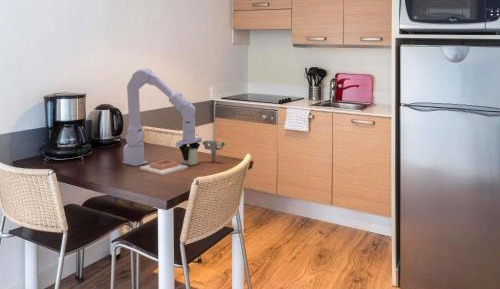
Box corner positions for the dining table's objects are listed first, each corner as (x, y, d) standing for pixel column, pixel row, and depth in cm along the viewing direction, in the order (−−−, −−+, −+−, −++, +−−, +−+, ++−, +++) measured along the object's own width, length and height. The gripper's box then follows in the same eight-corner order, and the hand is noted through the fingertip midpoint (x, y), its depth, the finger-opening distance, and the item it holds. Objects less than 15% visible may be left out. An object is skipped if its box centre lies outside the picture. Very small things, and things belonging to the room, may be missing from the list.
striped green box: (182, 163, 211) (181, 148, 209) (188, 161, 214) (187, 146, 213) (191, 165, 207) (190, 150, 206) (197, 163, 210) (197, 148, 209)
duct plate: (139, 169, 201) (139, 163, 201) (165, 162, 213) (165, 156, 212) (162, 175, 192) (162, 168, 192) (187, 168, 204) (187, 162, 203)
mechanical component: (223, 163, 212) (223, 142, 210) (202, 162, 214) (202, 141, 212) (225, 161, 215) (224, 141, 213) (204, 160, 217) (204, 140, 215)
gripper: (183, 133, 199) (184, 163, 202) (206, 129, 211) (206, 157, 213) (172, 131, 204) (173, 161, 207) (195, 127, 215) (195, 155, 218)
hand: (189, 159), depth 210 cm, fingers closed on striped green box, 4 cm apart
